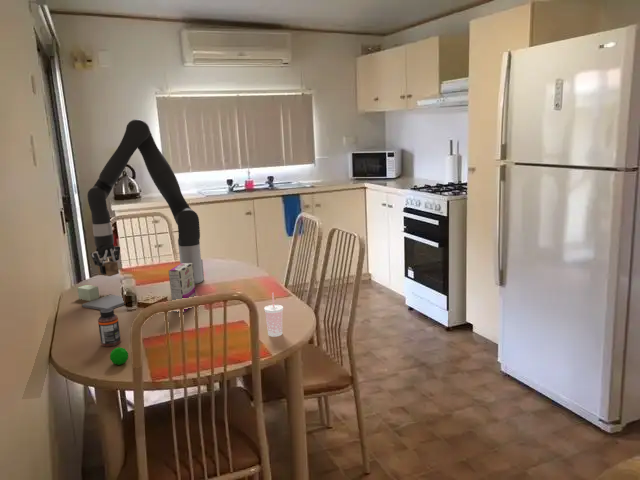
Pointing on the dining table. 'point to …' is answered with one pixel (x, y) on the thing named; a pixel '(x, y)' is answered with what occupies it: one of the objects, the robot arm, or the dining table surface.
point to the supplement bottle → (109, 328)
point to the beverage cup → (274, 319)
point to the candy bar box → (182, 282)
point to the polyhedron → (119, 356)
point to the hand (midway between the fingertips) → (108, 272)
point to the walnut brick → (110, 268)
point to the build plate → (105, 302)
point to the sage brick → (88, 292)
